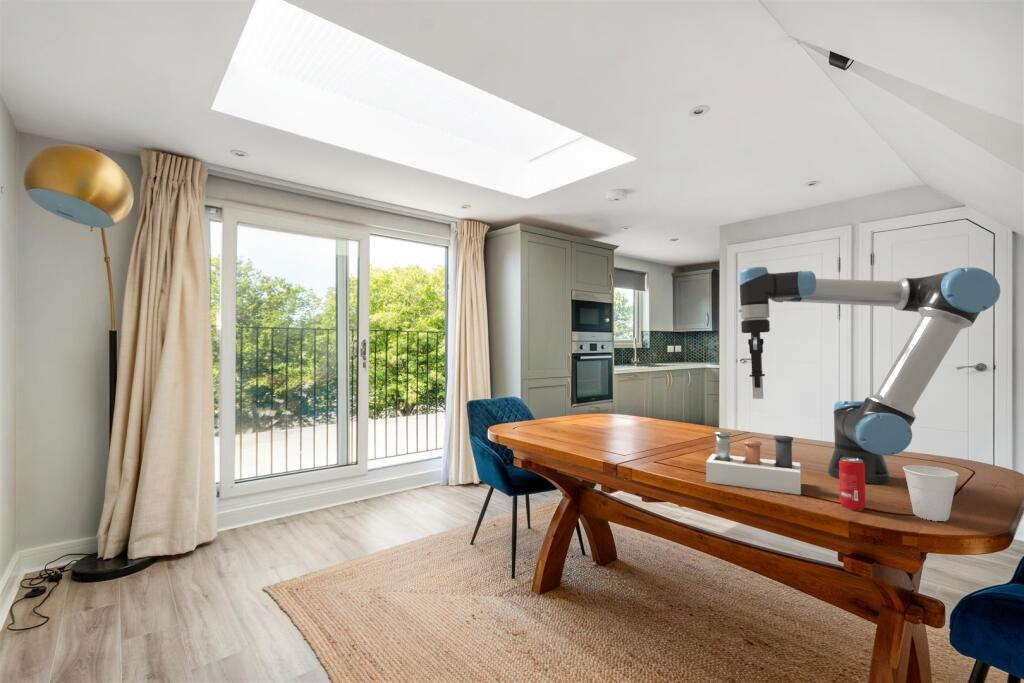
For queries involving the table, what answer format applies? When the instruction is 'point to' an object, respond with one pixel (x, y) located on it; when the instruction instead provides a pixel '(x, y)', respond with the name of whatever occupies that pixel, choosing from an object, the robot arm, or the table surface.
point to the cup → (931, 491)
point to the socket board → (754, 474)
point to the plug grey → (723, 445)
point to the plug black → (783, 451)
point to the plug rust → (752, 452)
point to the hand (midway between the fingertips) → (758, 398)
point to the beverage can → (852, 483)
